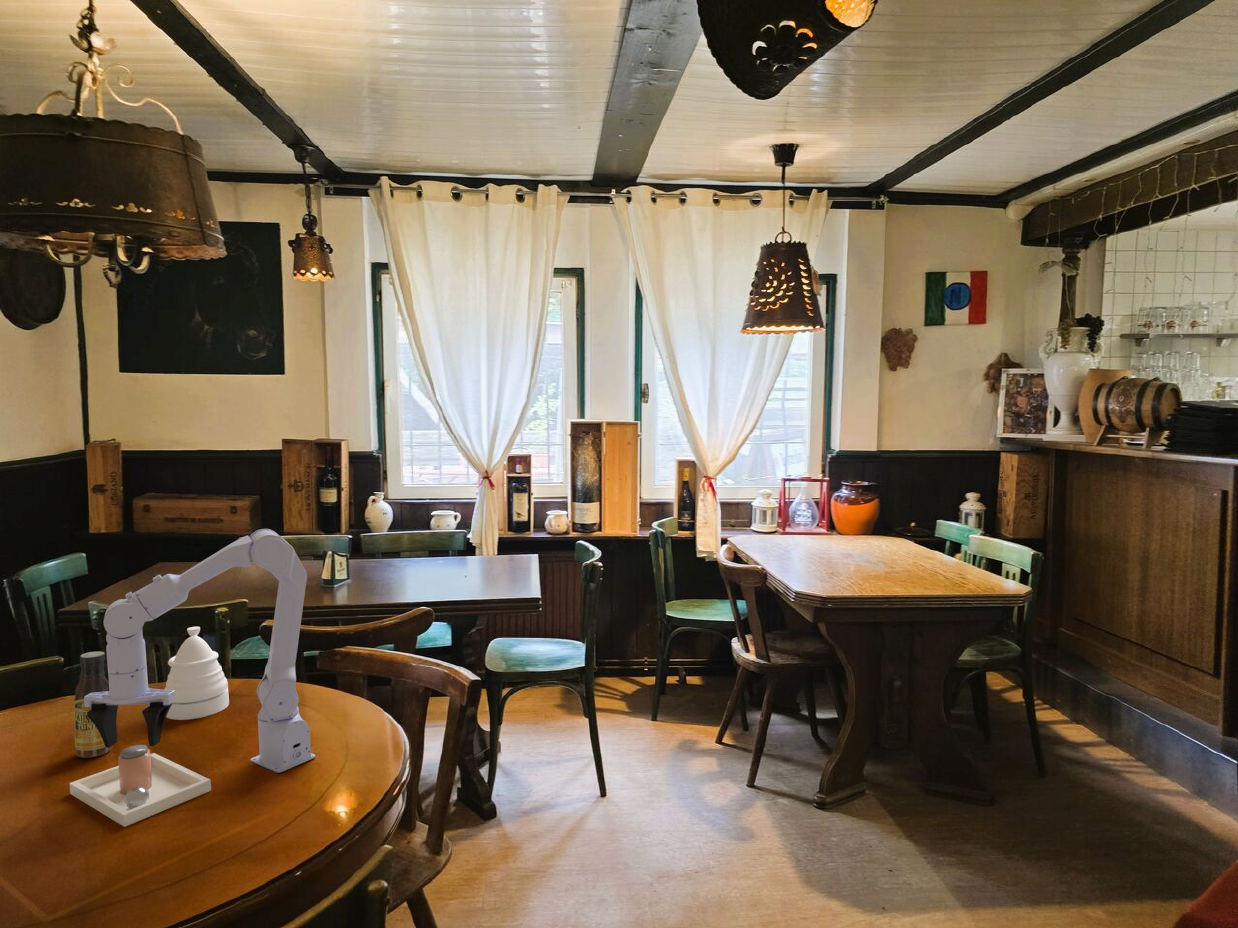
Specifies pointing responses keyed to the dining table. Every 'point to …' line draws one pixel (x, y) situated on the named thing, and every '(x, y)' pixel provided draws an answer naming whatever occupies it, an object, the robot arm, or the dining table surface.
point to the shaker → (134, 768)
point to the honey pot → (196, 680)
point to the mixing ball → (136, 797)
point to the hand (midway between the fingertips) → (133, 744)
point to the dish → (165, 792)
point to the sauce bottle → (85, 730)
